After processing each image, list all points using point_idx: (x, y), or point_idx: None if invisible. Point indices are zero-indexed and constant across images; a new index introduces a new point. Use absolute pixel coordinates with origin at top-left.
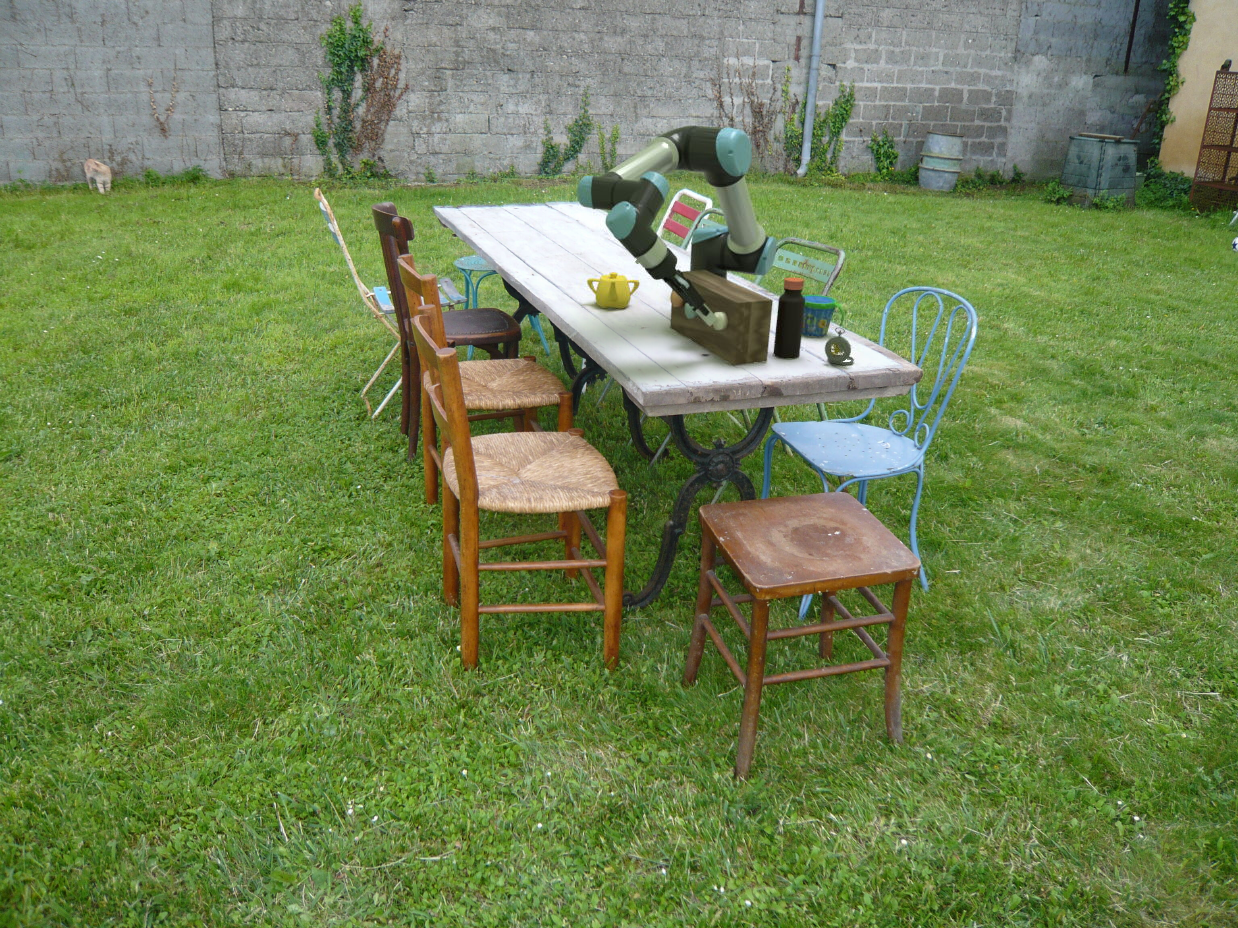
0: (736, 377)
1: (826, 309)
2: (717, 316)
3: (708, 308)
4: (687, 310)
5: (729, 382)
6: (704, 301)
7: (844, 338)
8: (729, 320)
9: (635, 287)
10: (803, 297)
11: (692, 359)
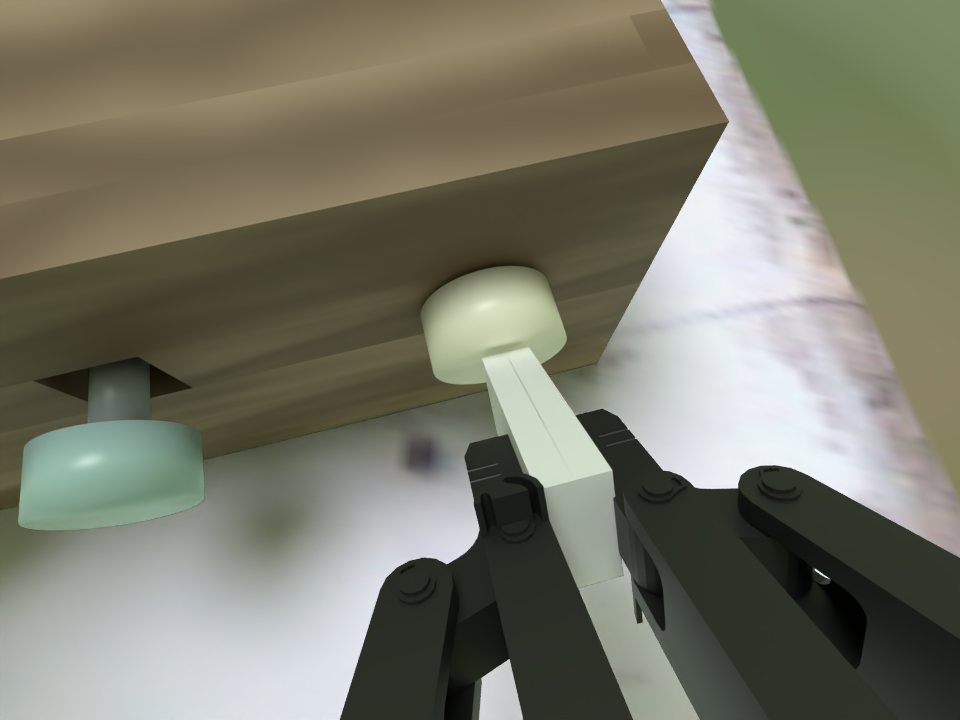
0: (780, 391)
1: None
2: (508, 339)
3: (570, 408)
4: (105, 516)
5: (864, 443)
6: (813, 484)
7: None
8: (562, 270)
9: None
10: None
11: None
